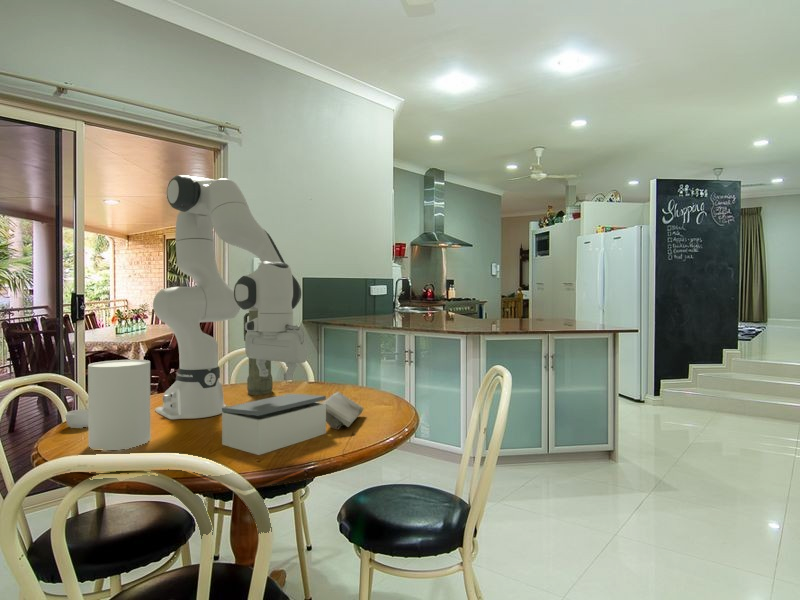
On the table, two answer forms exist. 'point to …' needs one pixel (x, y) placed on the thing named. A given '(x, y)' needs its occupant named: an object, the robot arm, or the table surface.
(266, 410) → the lid
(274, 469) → the table surface
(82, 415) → the teacup
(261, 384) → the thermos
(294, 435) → the storage box
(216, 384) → the robot arm
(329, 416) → the packaged product
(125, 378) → the canister
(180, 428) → the table surface
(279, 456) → the table surface
